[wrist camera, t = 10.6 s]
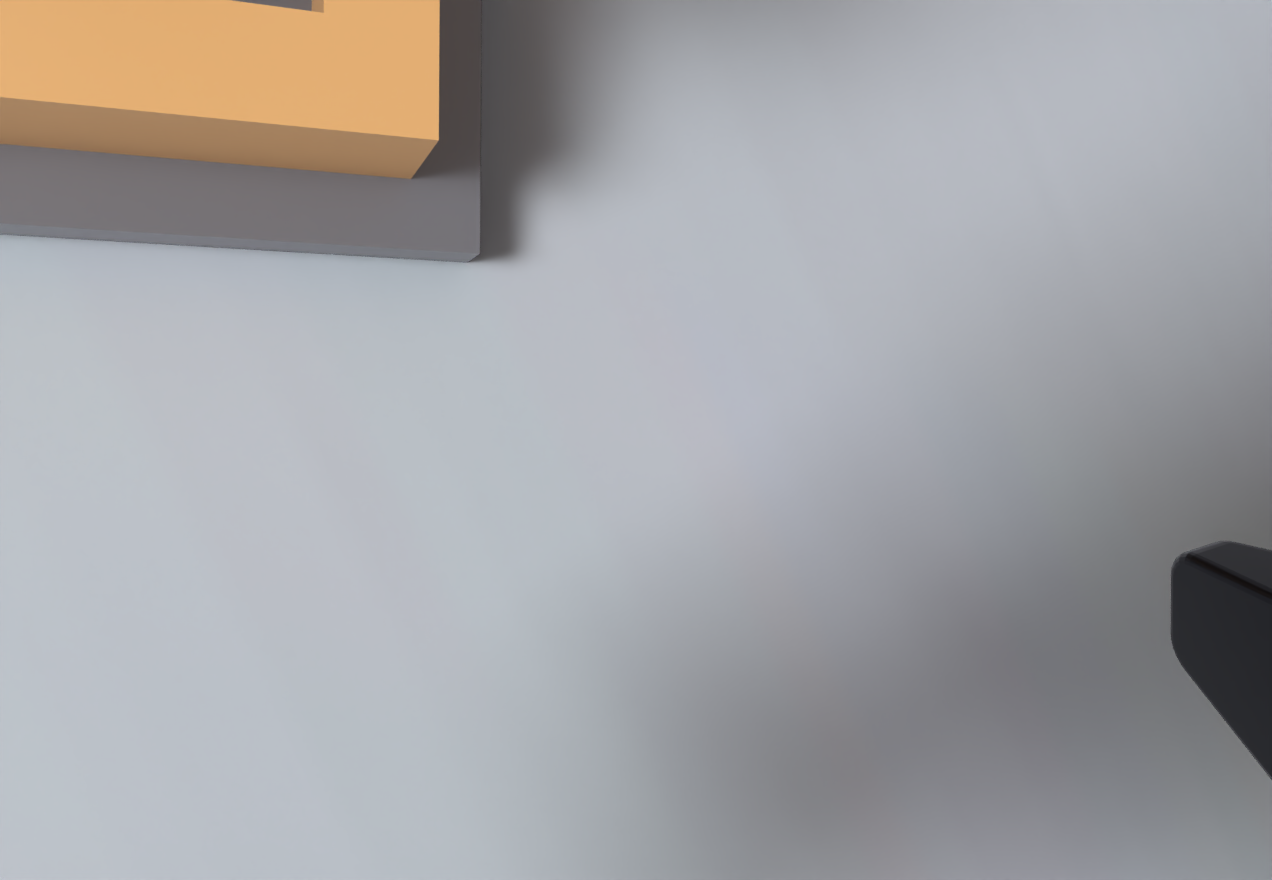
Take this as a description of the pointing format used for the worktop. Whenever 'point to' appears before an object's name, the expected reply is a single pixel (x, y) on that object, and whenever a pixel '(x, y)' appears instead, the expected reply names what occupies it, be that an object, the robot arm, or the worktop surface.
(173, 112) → the dock
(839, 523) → the worktop surface
